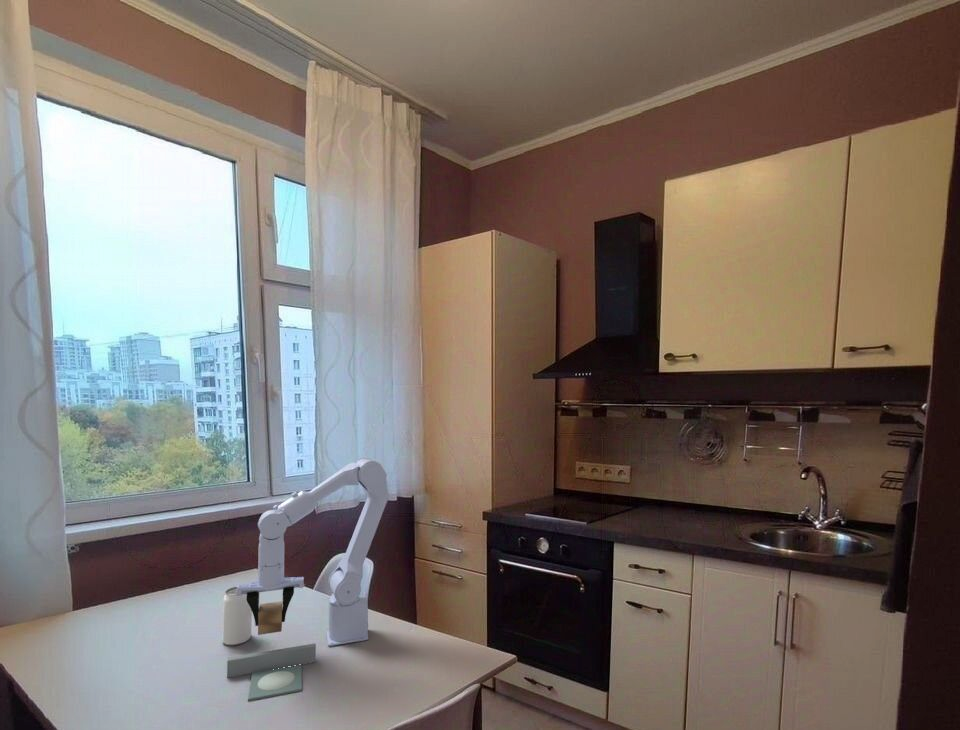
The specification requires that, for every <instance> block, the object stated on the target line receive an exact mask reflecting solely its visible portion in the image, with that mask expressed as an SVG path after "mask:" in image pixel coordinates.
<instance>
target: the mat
mask: <svg viewBox="0 0 960 730" xmlns="http://www.w3.org/2000/svg"><path fill="white" fill-rule="evenodd" d="M302 669H303V668H302V665H296V666H291V667H285V668H279V669H274V670H268V671H262V672H256V673H252V674H251V679H250V685H249V690H248V691H249V692H248V697H247V702H249V701H256V700H262V699H265V698H271V697H276V696H277V697H278V696H282V695H287V694H294V693H297V691H298V692H302V691H303V689H302V688H303V687H302V686H303V683H302V682H303V681H302V679H303V676H302V673H303V671H302Z"/></svg>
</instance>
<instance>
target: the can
mask: <svg viewBox="0 0 960 730" xmlns="http://www.w3.org/2000/svg"><path fill="white" fill-rule="evenodd" d="M246 598H247V594H242V595H241V596H237V586H233V587H230V588H228V589H227V590H225V595H224V596H223V603H222V630H221V631H222V633H221V634H222V635H221V636H222V637H221V638H222V640H221V641H222V643H223V644H224V645H225V646H238V645H242V644H244V643H246V642H247V641H249V640H250V638H251V637H252V616H253V612H252V610H251V608H250V606H249V604H248V602H247V600H246Z"/></svg>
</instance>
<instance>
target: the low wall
mask: <svg viewBox="0 0 960 730" xmlns="http://www.w3.org/2000/svg"><path fill="white" fill-rule="evenodd" d="M316 649H317V645H316V643H309V644H308V643H307V644H302V645H295V646H291V647H284V648H278V649H272V650H267V651H266V650H265V651H260V652H259V651H258V652H254V653H247V654H242V655H235V656H234V655H233V656H229V657H227V662H226V663H227V664H226V669H227V670H226V678H228V679H229V678H234V677H240V676H245V674H246V675H252V674H251V673H256V672H262V671H268V670H273V669H278V668H283V667H288V666H294V665H299V664H303V665H307V663H309V664H313V663H312V662H315V663H316V662H317V661H316V658H317V656H316V654H317V653H316V652H317V650H316Z"/></svg>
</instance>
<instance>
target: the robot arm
mask: <svg viewBox="0 0 960 730" xmlns="http://www.w3.org/2000/svg"><path fill="white" fill-rule="evenodd" d="M359 485H361V487H362V490H363V492H365V493H364V494H365V495H366V499H365V502H364V506H363V508H362V510H361V513H360V515H359V518H358V521H357V522H356V525H355V528H354V531H353V534H352V537H351V539H350V540H349V543H348V545H347V546H348V547H347V549H346V551H345V554H344V555H343V556H344V557H342V559H341V560H340V561H339V562H338V564H337V567H336V568H335V569H334V570H333V572H331V574H330V575H329V578H328V582H327V583H328V588H329V589H330V591H332V592H331V595H330V597H329V599H328V603H329V604H328V630H326V634H325V635H326V642H327V646H328V647H331V646H332V647H333V646H339V645H345V644H350V643H355V642H356V643H357V642H363V641H368V640H369V612H368V611H369V610H368V608H369V607H368V599H367V597H362V596H360V595H361V591H362V588H361V587H362V586H361V584H362V579H363V575H364V569H363V568H364V563H365V561H366V558H367V555H368V552H369V550H370V547H371V545H372V541H373V539H374V537H375V535H376V532H377V529H378V527H379V524H380V520H381V518H382V515H383V513H384V510H385V508H386V506H387V503H388V499H389V496H390V495H389V489H388V483H387V472H386V471H385V469H384V467H383V466H382V464H381V463H380V462H379V461H377V460H372V459H371V458H368V457H359V458H357V460H354V461H353V462H350V463H349V464H347V465H345V466H344V467H343V468H341V469H340V470H338V471H336V472H335V473H334V474H332V475H331V476H330V477H328V478H326V479H325V480H324V481H322V482H321V483H319V484H318V485H317V486H316V487H314V488H313V489H311V490H310V491H306V490H305V491H304V490H300V491H299V492H297V491H294V492H292V493H291V494H290V495H291V497H290V498H288V499H286V500H285V501H283V502H282V503H281V504H275V505H273V507H272V508H273V509H269V510H267V511H265V512H263V513H262V514H261V516H260V517H259V519H258V522H257V527H258V529H259V532H260V533H259V537H258V541H259V543H258V548H257V549H258V553H257V554H258V558H257V559H258V561H257V563H258V565H257V566H258V567H257V568H258V569H257V580H255V581H251V582H248V583H241V584H238V585H237V586H236V587H237V596H241V595H242V594H247V598H246V600H247V602H248V604H249V606H250V608H251V610H252V616H253V618H254V625H255V627H258V612H259V606H260V593H264V592H271V591H279V590H281V591H282V623H285V622H286V615H287V611H288V608H289V605H290V603H291V601H292V598H293V596H294V593H295V588H299V589H303V588H304V582H305V581H304V579H305V577H304V576H297V577H293V576H292V577H285V544H286V543H285V541H284V539H285V537H284V536H285V535H284V534H285V533H286V531H287V528H288V527H292V526H293V525H294V524H296V523H297V522H299V521H301V519H303V518H305V517H306V516H308V515H309V514H311V513H312V512H314V510H315V507H316V504H317V503H319V502H320V501H321V500H323V499H325V498H326V497H328V496H330V495H331V494H333V493H335V492H337V491H338V490H339V489H341V488H343V487H345V486H359Z"/></svg>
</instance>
